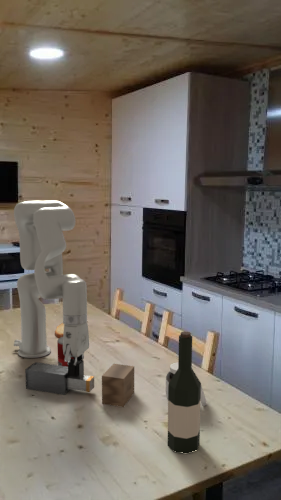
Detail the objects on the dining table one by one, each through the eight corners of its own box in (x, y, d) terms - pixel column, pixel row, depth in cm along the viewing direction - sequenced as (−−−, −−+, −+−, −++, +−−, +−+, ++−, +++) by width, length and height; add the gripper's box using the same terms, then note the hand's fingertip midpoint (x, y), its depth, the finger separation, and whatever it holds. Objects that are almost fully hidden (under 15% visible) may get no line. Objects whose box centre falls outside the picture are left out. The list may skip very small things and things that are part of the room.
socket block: (102, 403, 143) (101, 375, 142) (113, 389, 152) (113, 363, 151) (123, 407, 141) (123, 378, 140) (134, 393, 150) (134, 366, 149)
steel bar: (32, 383, 154) (31, 358, 152) (37, 378, 157) (37, 354, 156) (89, 392, 147) (89, 366, 146) (94, 387, 151) (94, 361, 150)
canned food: (76, 374, 165) (75, 343, 163) (54, 372, 166) (53, 342, 165) (83, 365, 172) (82, 336, 171) (62, 363, 174) (61, 335, 172)
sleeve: (25, 388, 153) (25, 369, 152) (36, 380, 159) (35, 362, 158) (64, 394, 149) (64, 375, 148) (73, 386, 155) (73, 367, 154)
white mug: (162, 397, 147) (162, 362, 146) (193, 391, 152) (194, 357, 150) (180, 415, 136) (180, 377, 135) (213, 408, 141) (214, 371, 139)
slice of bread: (59, 340, 199) (59, 332, 199) (45, 329, 215) (45, 321, 214) (98, 334, 208) (98, 326, 208) (82, 323, 224) (82, 315, 223)
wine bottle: (165, 436, 125) (166, 328, 120) (196, 435, 126) (198, 327, 121) (169, 454, 117) (171, 339, 112) (202, 453, 117) (205, 338, 113)
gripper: (74, 327, 138) (75, 386, 141) (96, 312, 154) (96, 365, 157) (51, 324, 141) (53, 382, 143) (75, 310, 156) (76, 362, 159)
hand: (76, 373), depth 150 cm, fingers closed on steel bar, 3 cm apart
